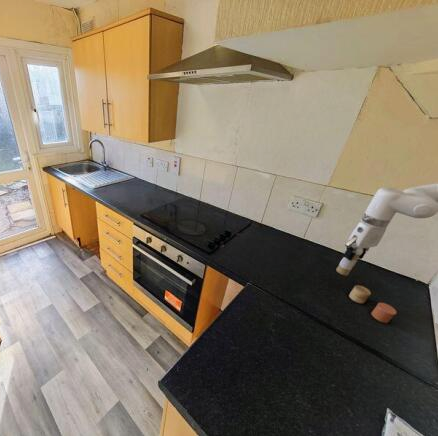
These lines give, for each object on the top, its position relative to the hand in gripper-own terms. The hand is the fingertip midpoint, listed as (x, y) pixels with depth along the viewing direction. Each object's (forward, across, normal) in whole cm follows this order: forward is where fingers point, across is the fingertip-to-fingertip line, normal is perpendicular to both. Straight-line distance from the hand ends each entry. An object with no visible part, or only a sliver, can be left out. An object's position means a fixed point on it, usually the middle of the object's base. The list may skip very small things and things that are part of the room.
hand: (352, 257), depth 95 cm
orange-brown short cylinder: (+15, 0, -18) cm, 23 cm away
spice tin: (+15, 0, -9) cm, 17 cm away
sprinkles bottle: (+9, 0, 0) cm, 9 cm away
